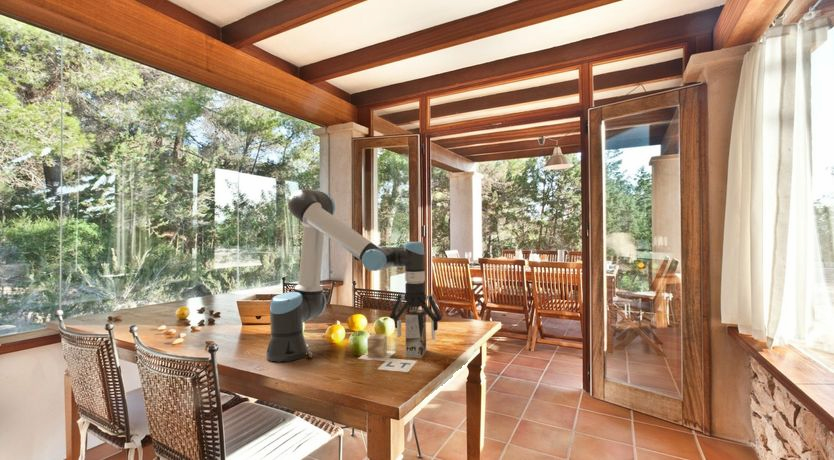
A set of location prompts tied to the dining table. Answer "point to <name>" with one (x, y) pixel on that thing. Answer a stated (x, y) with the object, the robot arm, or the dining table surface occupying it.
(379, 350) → the oak block
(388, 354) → the code tile
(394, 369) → the tile
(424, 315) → the coffee box
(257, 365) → the dining table surface
